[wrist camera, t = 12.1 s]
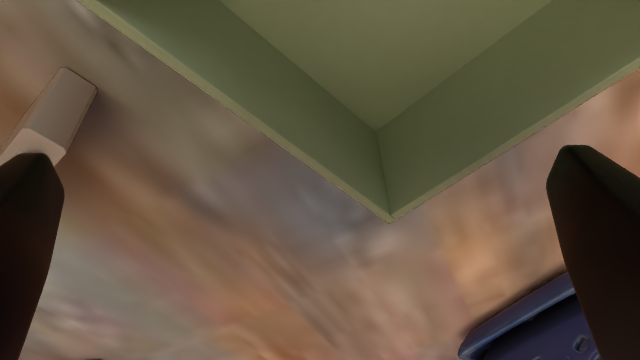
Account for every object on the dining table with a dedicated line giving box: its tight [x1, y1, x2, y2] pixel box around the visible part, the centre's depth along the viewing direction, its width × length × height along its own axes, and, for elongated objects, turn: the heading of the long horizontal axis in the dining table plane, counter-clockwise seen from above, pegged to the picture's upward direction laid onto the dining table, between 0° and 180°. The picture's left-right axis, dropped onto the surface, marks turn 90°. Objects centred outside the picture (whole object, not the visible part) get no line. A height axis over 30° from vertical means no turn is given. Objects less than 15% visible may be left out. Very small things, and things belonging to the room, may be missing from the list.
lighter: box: [0, 68, 97, 166], centre depth 21 cm, size 7×2×8 cm, turn 134°
